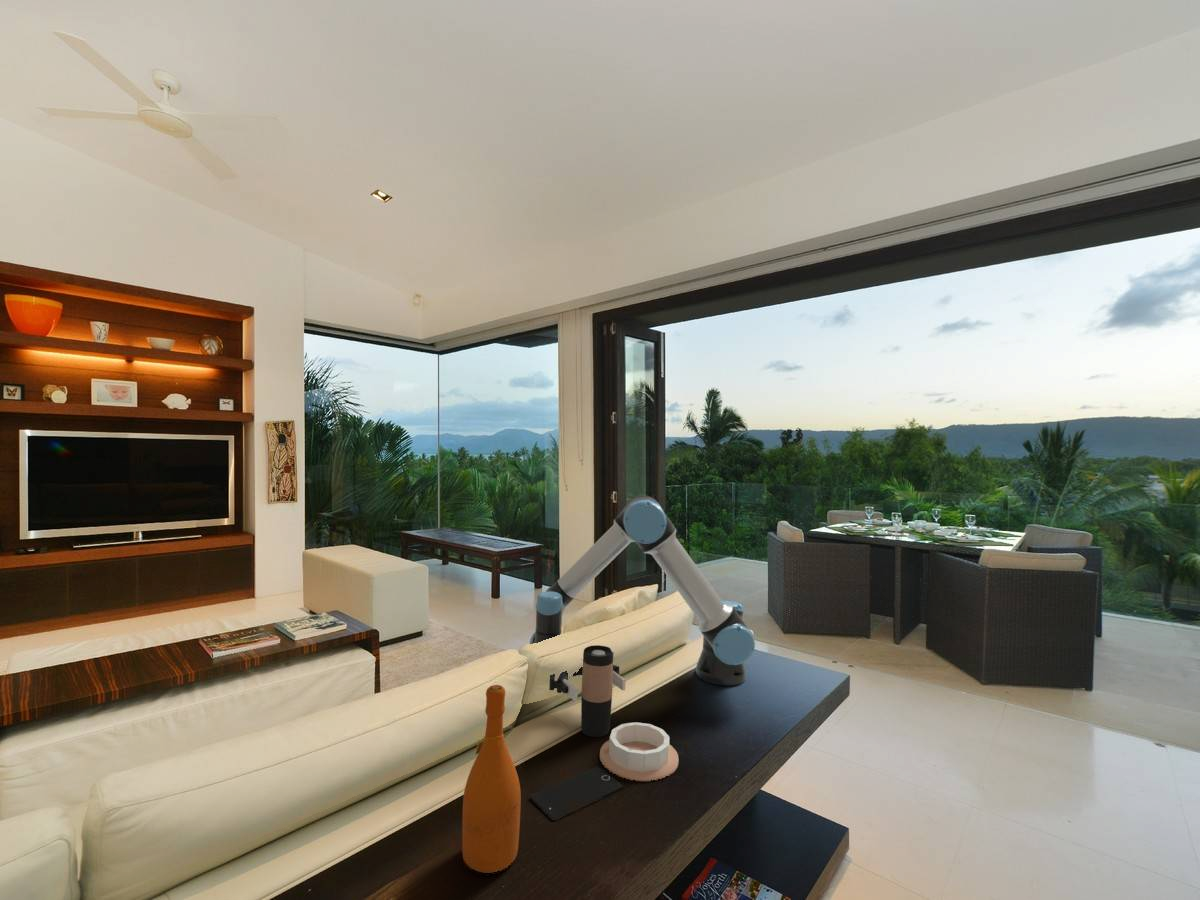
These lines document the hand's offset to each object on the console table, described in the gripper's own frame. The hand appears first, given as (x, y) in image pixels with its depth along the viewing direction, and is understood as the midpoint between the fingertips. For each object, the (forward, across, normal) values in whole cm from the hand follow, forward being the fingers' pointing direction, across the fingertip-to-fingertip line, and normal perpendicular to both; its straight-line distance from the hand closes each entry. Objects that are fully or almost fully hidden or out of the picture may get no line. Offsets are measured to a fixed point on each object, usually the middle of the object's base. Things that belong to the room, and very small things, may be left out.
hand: (600, 690), depth 144 cm
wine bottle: (+28, +38, -11) cm, 48 cm away
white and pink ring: (+13, -3, -11) cm, 17 cm away
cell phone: (+18, +16, -12) cm, 27 cm away
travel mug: (-2, 0, -11) cm, 11 cm away
